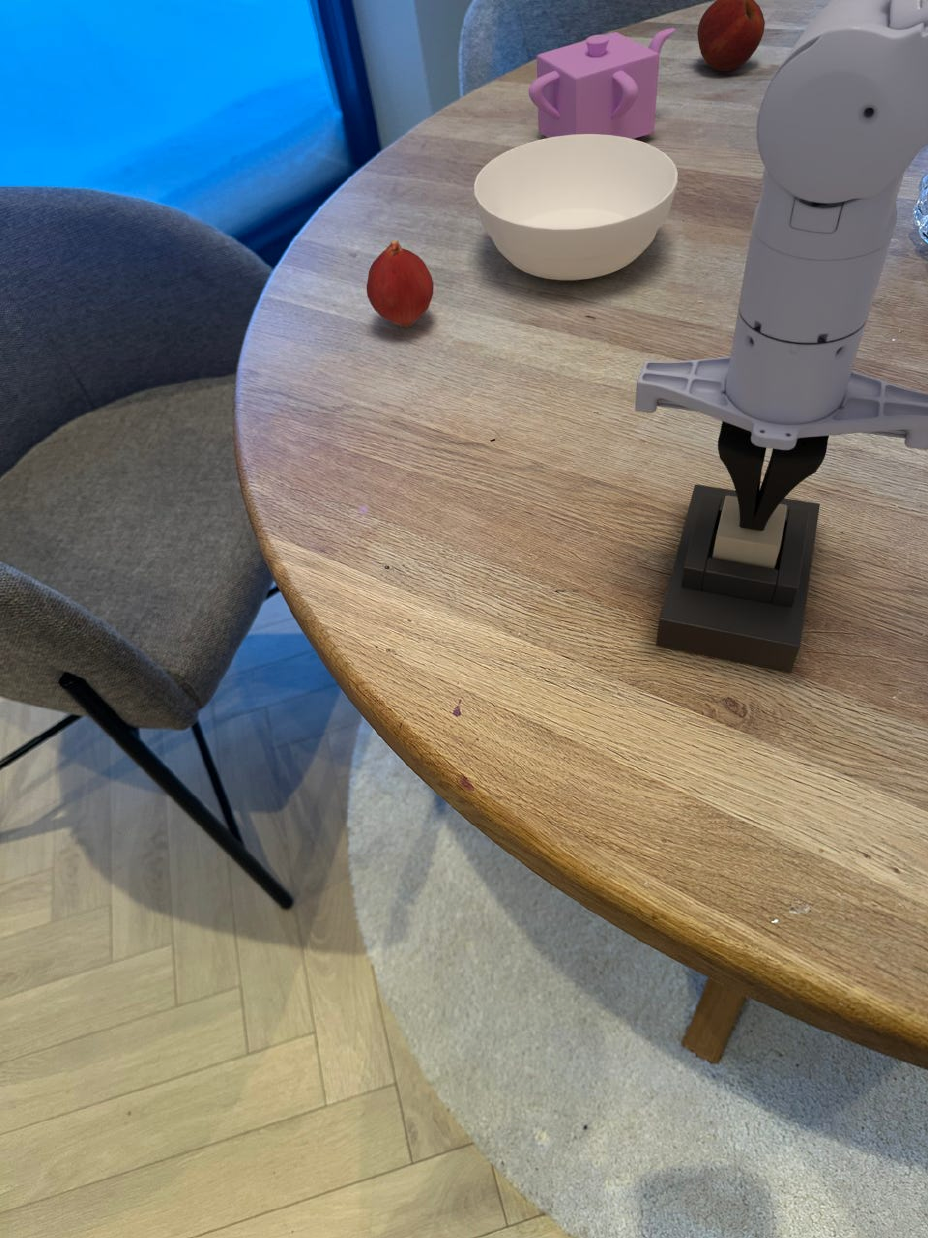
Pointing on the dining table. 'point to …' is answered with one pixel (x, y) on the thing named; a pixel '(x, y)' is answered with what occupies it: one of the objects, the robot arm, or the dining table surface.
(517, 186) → the bowl
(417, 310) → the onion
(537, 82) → the teapot
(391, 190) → the dining table surface
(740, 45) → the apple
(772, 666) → the switch plate
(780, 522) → the switch
